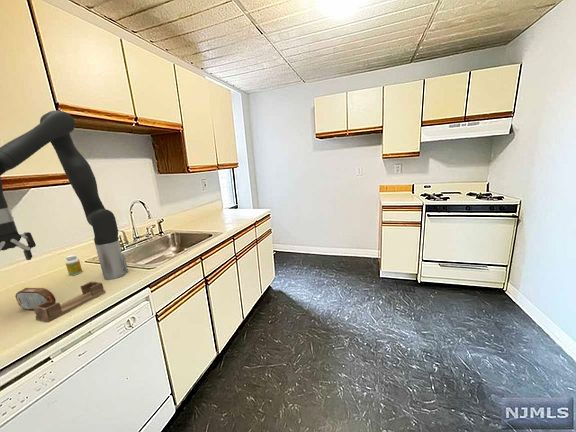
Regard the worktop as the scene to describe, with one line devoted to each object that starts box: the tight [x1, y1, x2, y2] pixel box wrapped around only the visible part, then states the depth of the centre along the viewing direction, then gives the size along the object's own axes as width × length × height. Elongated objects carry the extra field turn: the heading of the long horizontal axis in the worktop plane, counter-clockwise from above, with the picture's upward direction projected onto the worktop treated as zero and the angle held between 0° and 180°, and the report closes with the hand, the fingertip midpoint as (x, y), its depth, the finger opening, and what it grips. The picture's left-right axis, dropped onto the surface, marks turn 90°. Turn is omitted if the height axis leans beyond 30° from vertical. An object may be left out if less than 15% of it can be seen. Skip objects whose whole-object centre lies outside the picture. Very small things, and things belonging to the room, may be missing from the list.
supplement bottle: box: [65, 254, 83, 277], centre depth 129 cm, size 5×5×10 cm
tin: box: [15, 287, 57, 311], centre depth 96 cm, size 15×3×8 cm, turn 81°
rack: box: [33, 280, 107, 323], centre depth 97 cm, size 7×20×5 cm, turn 161°
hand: (13, 264), depth 93 cm, fingers open, 8 cm apart
